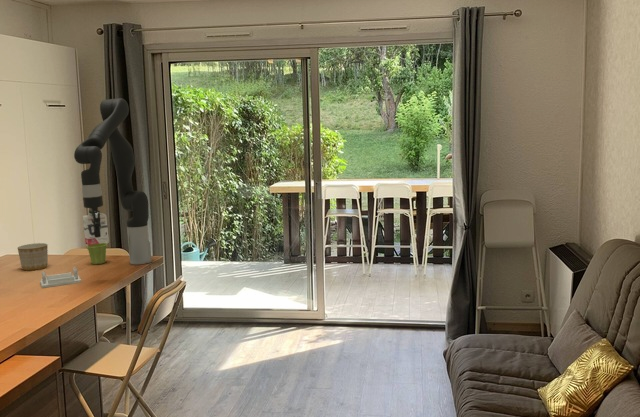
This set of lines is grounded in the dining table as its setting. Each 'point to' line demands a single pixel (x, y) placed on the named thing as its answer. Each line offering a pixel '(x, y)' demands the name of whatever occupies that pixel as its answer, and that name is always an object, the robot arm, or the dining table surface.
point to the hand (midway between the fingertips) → (96, 235)
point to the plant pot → (97, 253)
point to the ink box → (89, 230)
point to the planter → (33, 256)
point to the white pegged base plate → (60, 279)
